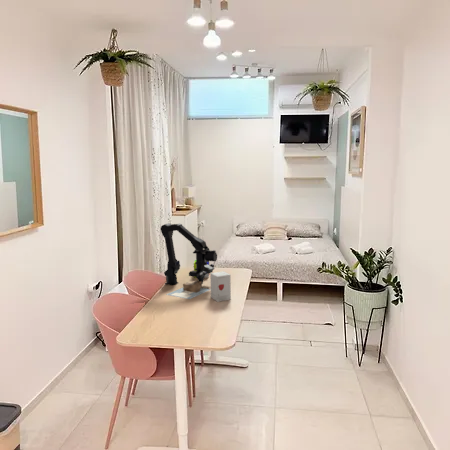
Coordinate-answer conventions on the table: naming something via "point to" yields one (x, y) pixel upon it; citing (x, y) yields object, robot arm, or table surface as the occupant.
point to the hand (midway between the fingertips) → (201, 284)
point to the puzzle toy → (196, 270)
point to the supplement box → (220, 286)
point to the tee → (192, 286)
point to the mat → (187, 293)
